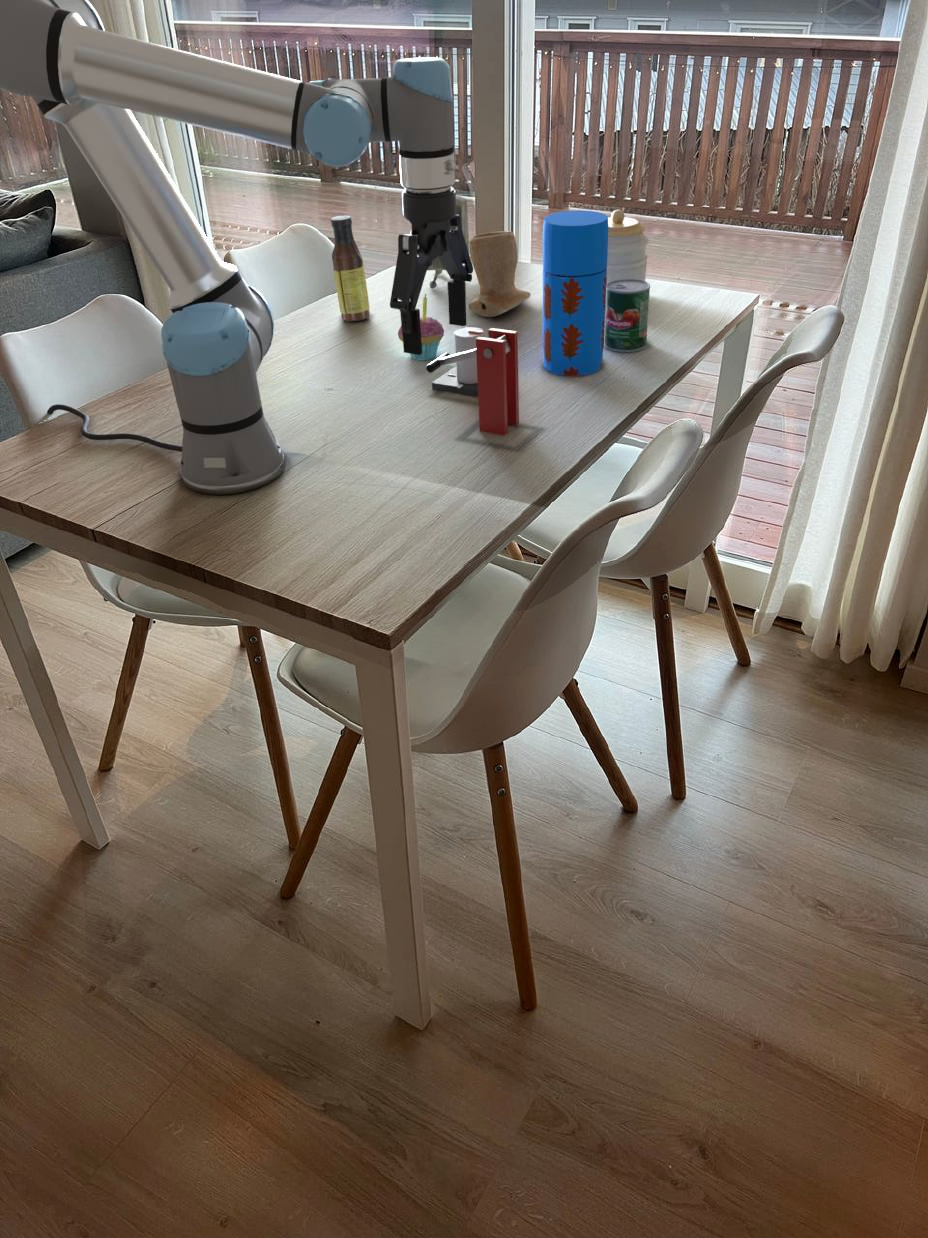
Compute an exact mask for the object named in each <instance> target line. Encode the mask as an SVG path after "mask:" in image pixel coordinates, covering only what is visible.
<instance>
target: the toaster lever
mask: <svg viewBox="0 0 928 1238" xmlns="http://www.w3.org/2000/svg"><path fill="white" fill-rule="evenodd" d="M492 339H499V340H505V343H506V353H508V352H509V351H510V350H511V349H510V346H509V344H508V341H507V338H506V335H503V336H499V337H496V338H492ZM474 357H476V349H472V350H469V351H465V352H461V353H458V354H456V353H454V354H450V353H449V352H445V353H443V354H441V355H440V356H439V357H437V358H436V359H434V360H433V361H431V362H430V363H428V364H427V365H426V366H425V369H426V371H427V373H428V374H433V373H434V372H435V371H436V370H438V369H439V368H442V367H444V366H446V365H450V364H451V365H452V364H454V363H456V362H458V361H462V360H466V359H470V358H474Z"/></svg>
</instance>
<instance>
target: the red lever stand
mask: <svg viewBox="0 0 928 1238" xmlns="http://www.w3.org/2000/svg"><path fill="white" fill-rule="evenodd" d="M503 335H506V338H507V341H508V344H509V346H510V349H511V350H510V351H509V352H508V353H506V343H505V340H499V339H492V338H496V337H499V336H503ZM476 357H477V380H478V397H477V400H478V401H477V402H478V421H479V422H478V423H479V427H478V428H479V432H483V433H487V434H488V433H489V434H493V435H498V436H503V437H504V436H506V435H508V433H509V431H508V425H511V426H518V425H519V424H520V399H519V397H520V392H519V391H520V390H519V389H520V388H519V387H520V386H519V331H517V330H509V329H502V328H494V327H490V328H489V329H488V337H485V336H484V337H478V338H476Z"/></svg>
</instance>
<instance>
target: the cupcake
mask: <svg viewBox="0 0 928 1238" xmlns="http://www.w3.org/2000/svg"><path fill="white" fill-rule="evenodd" d="M427 305H428V297H427V293H425V294H424V297H423V301H422V316H420V326H421V342H422V354H421V355H416V354H410V353H409V355H410V357H411V359H412V360H416V361H428V360H432V359H434V358H436V356H437V353H438V349H439V347H440V342H441V340H442V339H443V337H444V336H445V329H444V327H443V324H442V323H441V322H439V321H438V319H435V318H433V317H430V316H427V312H428V311H427V310H428V309H427V307H428V306H427ZM401 326H402V325H400V326H399V329H398V331H397V336H398V339H399V340H400V341H401V342H403V333H402V327H401Z"/></svg>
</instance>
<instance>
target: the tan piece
mask: <svg viewBox="0 0 928 1238" xmlns="http://www.w3.org/2000/svg"><path fill="white" fill-rule="evenodd" d="M517 245H518V244H517V239H516V236H515V234H514V233H513V231H510V230H504V231H489V232H483V233H478V234H474V235H473V236H471V237H470V238H469V255H470V259H471V262H472V265H473V270H474V273H475V275H476V278H477V281H478V285H479V294H478V295H477V297H475V298H474V299H473V300H471V301H470V302H469V303H468V304H467V308H468V309H470V310H471V311H472V312H473V313H476V314H477V315H479V316H481V317H485V318H495V317H498V316H500V315H502V314H504V313H505V314H506V312H509V311H511V310H512V309H514V308H516V307H517V306H520V305H521V304H522V303H524V302H525V301H527V300H528V299H529V298H530V297H531V295H532V294H531V292H529V291H526V290H524V289H523V290H522V289H519V288H517V287H516V285H515V278H516V269H517V266H518V246H517Z"/></svg>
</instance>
